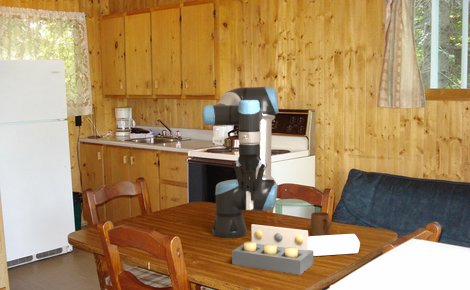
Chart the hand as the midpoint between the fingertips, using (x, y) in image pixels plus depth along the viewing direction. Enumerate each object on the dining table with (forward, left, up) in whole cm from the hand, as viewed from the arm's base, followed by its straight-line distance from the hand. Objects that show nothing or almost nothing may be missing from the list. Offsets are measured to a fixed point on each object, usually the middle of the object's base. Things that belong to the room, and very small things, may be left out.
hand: (249, 209), depth 193 cm
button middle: (+8, 0, -17) cm, 18 cm away
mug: (+12, +45, -20) cm, 51 cm away
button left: (0, 0, -17) cm, 17 cm away
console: (+8, +2, -20) cm, 21 cm away
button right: (+16, 0, -17) cm, 23 cm away
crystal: (+22, +24, -20) cm, 38 cm away
